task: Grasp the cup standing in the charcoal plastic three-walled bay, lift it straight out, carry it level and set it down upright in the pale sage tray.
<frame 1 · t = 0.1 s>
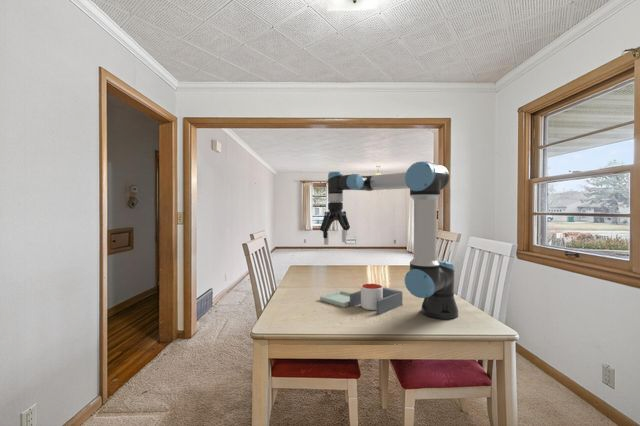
hand: (335, 243, 165), 28 cm above the table, fingers open, 13 cm apart
cup: (371, 308, 149), on the table
tray: (342, 300, 160), on the table
bay: (374, 306, 150), on the table
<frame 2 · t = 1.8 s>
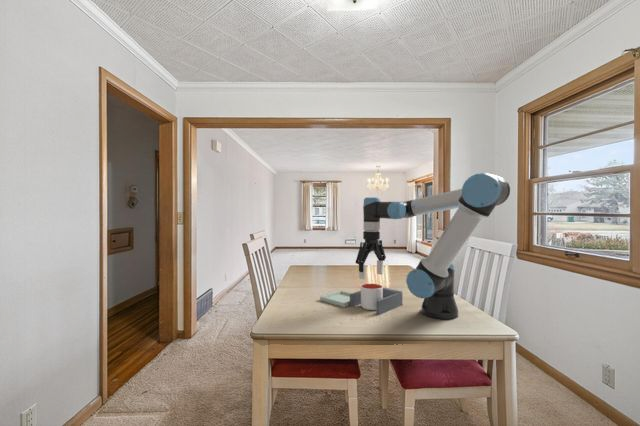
hand: (371, 276, 149), 14 cm above the table, fingers open, 13 cm apart
nothing on the table moved.
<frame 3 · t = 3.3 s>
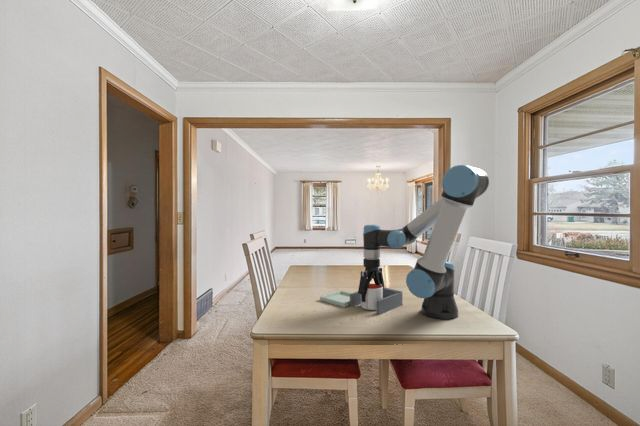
hand: (371, 305, 149), 1 cm above the table, fingers closed on cup, 10 cm apart
cup: (371, 308, 149), on the table, touching gripper
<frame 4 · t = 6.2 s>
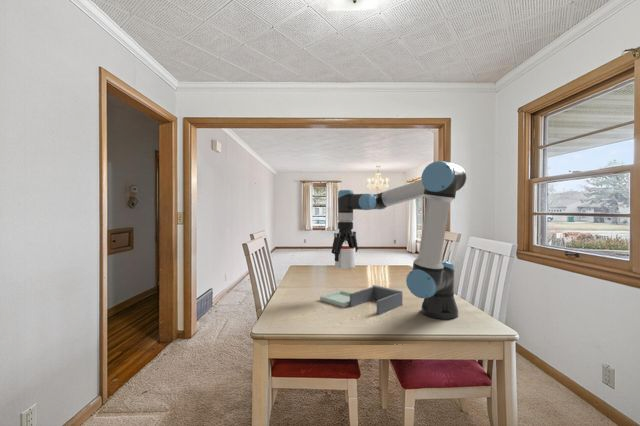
hand: (345, 266, 159), 17 cm above the table, fingers closed on cup, 10 cm apart
cup: (345, 268, 159), point 16 cm above the table, touching gripper
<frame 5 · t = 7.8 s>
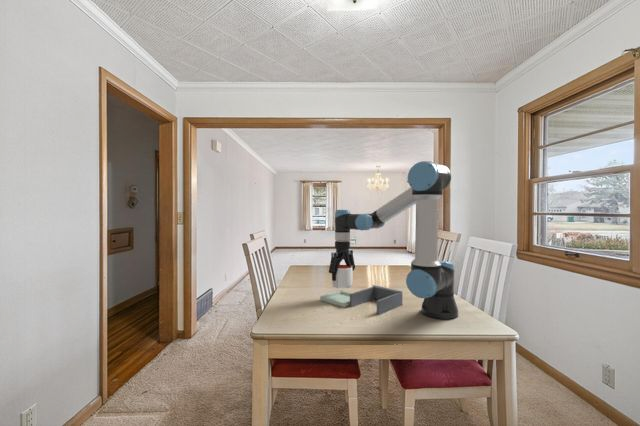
hand: (342, 285, 160), 8 cm above the table, fingers closed on cup, 10 cm apart
cup: (342, 286, 160), point 7 cm above the table, touching gripper
when the fingers open (3 cm above the table, at t = 9.1 s): cup drops 2 cm, resting on tray.
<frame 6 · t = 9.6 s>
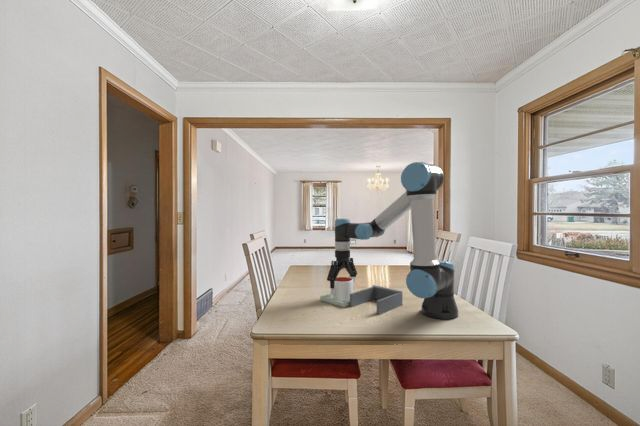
hand: (342, 292, 160), 4 cm above the table, fingers open, 13 cm apart
cup: (342, 299, 160), resting on tray
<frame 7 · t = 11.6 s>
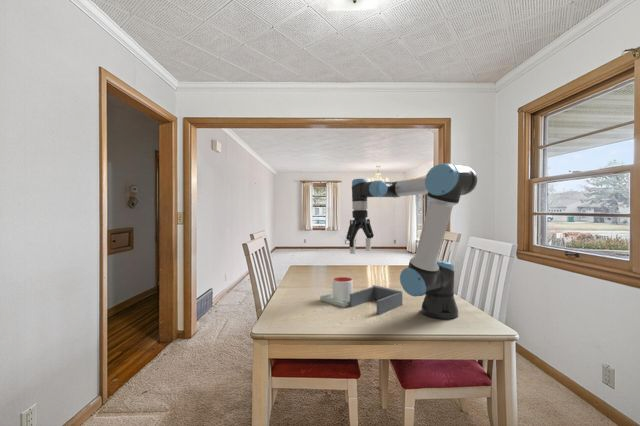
hand: (360, 252, 161), 24 cm above the table, fingers open, 13 cm apart
nothing on the table moved.
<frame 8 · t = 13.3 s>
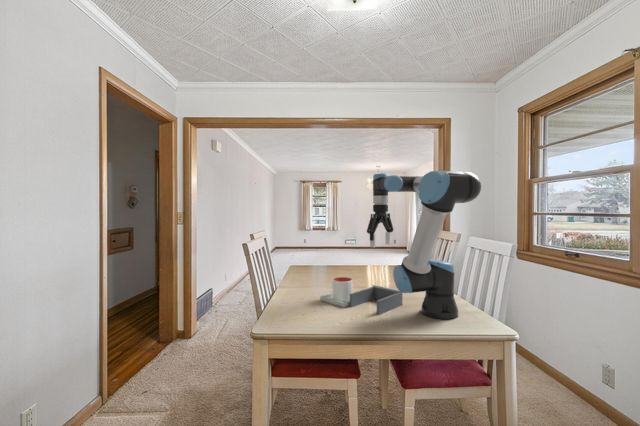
hand: (380, 245, 164), 27 cm above the table, fingers open, 13 cm apart
nothing on the table moved.
at the end: cup inside the target area on the tray (0.0 cm from its centre), point 0.4 cm above the tray's base; cup tilted 0°; the gripper is holding nothing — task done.
